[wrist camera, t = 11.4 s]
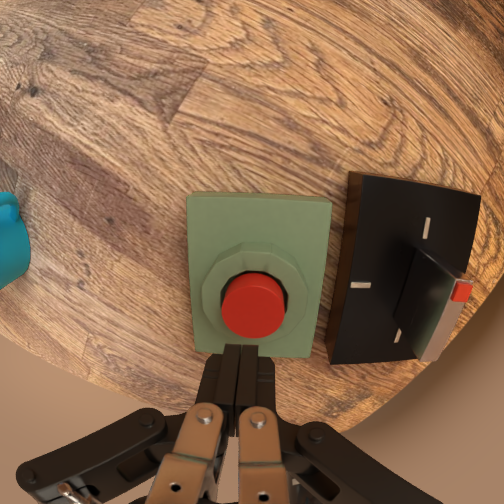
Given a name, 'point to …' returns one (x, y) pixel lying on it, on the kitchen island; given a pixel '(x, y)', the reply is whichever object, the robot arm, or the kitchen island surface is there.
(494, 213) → the kitchen island surface
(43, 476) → the robot arm
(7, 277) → the mug
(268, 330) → the button
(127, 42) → the kitchen island surface
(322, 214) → the block
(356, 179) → the base
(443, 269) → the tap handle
